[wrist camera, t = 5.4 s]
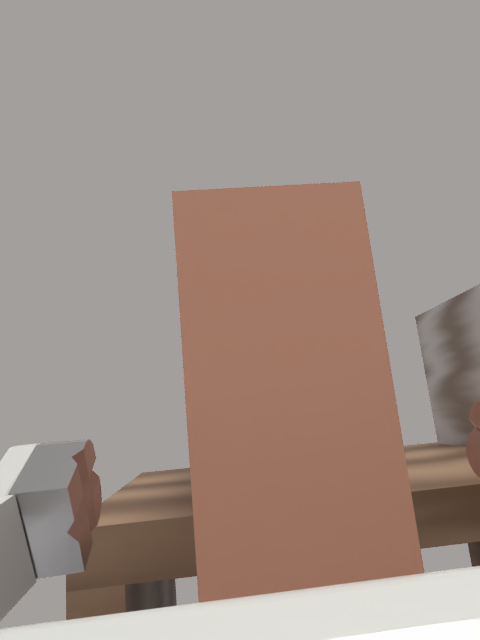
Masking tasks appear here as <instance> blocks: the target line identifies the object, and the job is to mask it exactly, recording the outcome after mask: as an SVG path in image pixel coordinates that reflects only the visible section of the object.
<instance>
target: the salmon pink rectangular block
mask: <svg viewBox="0 0 480 640" xmlns="http://www.w3.org/2000/svg"><path fill="white" fill-rule="evenodd" d="M172 199H173V216H174V231H175V246H176V260H177V276H178V292H179V307H180V323H181V337H182V353H183V368H184V384H185V399H186V414H187V428H188V429H187V430H188V443H189V460H190V475H191V491H192V506H193V521H194V537H195V552H196V567H197V580H198V598H199V603H200V602H208V601H216V600H223V599H231V598H239V597H246V596H254V595H262V594H269V593H277V592H284V591H292V590H300V589H307V588H315V587H323V586H330V585H338V584H346V583H353V582H361V581H368V580H376V579H384V578H391V577H399V576H407V575H414V574H422V573H424V568H423V562H422V556H421V550H420V544H419V538H418V532H417V525H416V519H415V513H414V507H413V501H412V495H411V489H410V483H409V477H408V471H407V465H406V459H405V453H404V446H403V440H402V434H401V428H400V422H399V416H398V410H397V404H396V398H395V392H394V386H393V380H392V374H391V368H390V361H389V355H388V349H387V343H386V337H385V331H384V325H383V319H382V313H381V307H380V301H379V295H378V289H377V282H376V276H375V270H374V264H373V259H372V253H371V247H370V240H369V234H368V228H367V222H366V216H365V209H364V204H363V197H362V191H361V185H360V182H342V183H322V184H303V185H286V186H285V185H284V186H265V187H246V188H229V189H209V190H190V191H172Z"/></svg>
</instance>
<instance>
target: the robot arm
mask: <svg viewBox="0 0 480 640" xmlns="http://www.w3.org/2000/svg"><path fill="white" fill-rule="evenodd" d="M469 420H470V421H471V423H472V424H473V426H474V427H475V428H474V429H473V431H472V432H471V433H470V434H469V436H468V437H467V446H466V453H467V457H468V461H469V464H470V466H471V468H472V470H473V471H474V473H475V474H476V475H477V476H478V477H479V478H480V401H477V402H474V404H473V406H472V408H471V411H470V418H469ZM95 459H96V456H95V452H94V447H93V444H92V442H91V441H90V440H77V441H65V442H52V443H41V444H38V443H36V444H27V445H19V446H14V447H11V448H9V450H8V451H7V452H6V454H5V455H4V457H3V458H2V460H1V461H0V621H1V620H2V619H3V618H4V617H5V616H6V614H7V613H8V612H9V611H10V610H11V609H12V608H13V607H14V606H15V604H17V602H18V601H19V600H20V599H21V598H22V597H23V596H24V595H25V594H26V593H27V592H28V590H29V589H30V588H31V587H32V586H33V585H34V584H35V583H36V579H40V578H46V577H53V576H60V575H67V574H73V573H80V572H85V569H86V565H87V562H88V558H89V555H90V551H91V548H92V544H93V541H92V536H91V531H92V530H93V529H94V528H95V527H96V526H97V525H98V522H99V518H100V513H101V501H102V497H101V485H100V479H99V476H98V475H97V474H96V473H95V472H93V471H92V468H93V465H94V462H95ZM0 640H480V566H475V567H467V568H460V569H453V570H445V571H437V572H430V573H422V574H414V575H407V576H399V577H391V578H384V579H376V580H368V581H361V582H353V583H346V584H338V585H330V586H323V587H315V588H307V589H300V590H292V591H284V592H277V593H269V594H262V595H254V596H246V597H239V598H231V599H223V600H216V601H208V602H200V603H194V604H186V605H178V606H170V607H162V608H155V609H147V610H139V611H132V612H124V613H117V614H109V615H101V616H94V617H86V618H78V619H71V620H63V621H55V622H49V623H40V624H33V625H25V626H18V627H10V628H2V629H0Z"/></svg>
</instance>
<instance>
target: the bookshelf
mask: <svg viewBox="0 0 480 640" xmlns="http://www.w3.org/2000/svg"><path fill="white" fill-rule="evenodd" d="M415 318H416V324H417V329H418V334H419V340H420V346H421V351H422V357H423V362H424V368H425V374H426V379H427V385H428V390H429V396H430V401H431V407H432V412H433V418H434V423H435V428H436V434H437V440H438V442H437V443H428V444H419V445H408V446H404V453H405V459H406V465H407V471H408V477H409V483H410V489H411V495H412V501H413V507H414V513H415V519H416V525H417V532H418V538H419V544H420V549H422V548H430V547H437V546H445V545H454V544H462V543H468V547H469V552H470V557H471V563H472V567H475V566H480V478H479V477H478V476H477V475H476V474H475V473H474V471H473V470H472V468H471V466H470V464H469V461H468V457H467V453H466V446H467V437H468V436H469V434H470V433H471V432H472V431H473V429H474V428H475V427H474V426H473V424H472V423H471V421H470V420H469V418H470V411H471V408H472V406H473V404H474V402H477V401H480V284H479V285H477V286H475V287H473V288H472V289H470V290H468V291H466V292H463V293H462V294H460V295H458V296H456V297H454V298H452V299H450V300H448V301H446V302H444V303H442V304H440V305H438V306H436V307H434V308H432V309H430V310H428V311H427V312H424V313H422V314H421V315H418V316H417V317H415ZM91 536H92V541H93V544H92V548H91V551H90V555H89V558H88V562H87V565H86V569H85V572H80V573H73V574H67V575H66V614H67V615H66V618H67V619H66V620H71V619H78V618H86V617H94V616H101V615H109V614H117V613H124V612H132V611H139V610H147V609H155V608H162V607H170V606H177V605H176V587H175V579H176V578H184V577H192V576H197V567H196V552H195V537H194V521H193V506H192V491H191V475H190V468H185V469H175V470H165V471H155V472H146V473H141V474H140V475H139V476H137V477H136V478H135V479H133V480H132V481H131V482H129V483H128V484H127V485H125V486H124V487H123V488H121V489H120V490H119V491H117V492H116V493H115V494H113V495H112V496H111V497H109V498H108V499H107V500H105V501H104V502H102V503H101V513H100V518H99V522H98V525H97V526H96V527H95V528H94V529H93V530H92V531H91Z"/></svg>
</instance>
